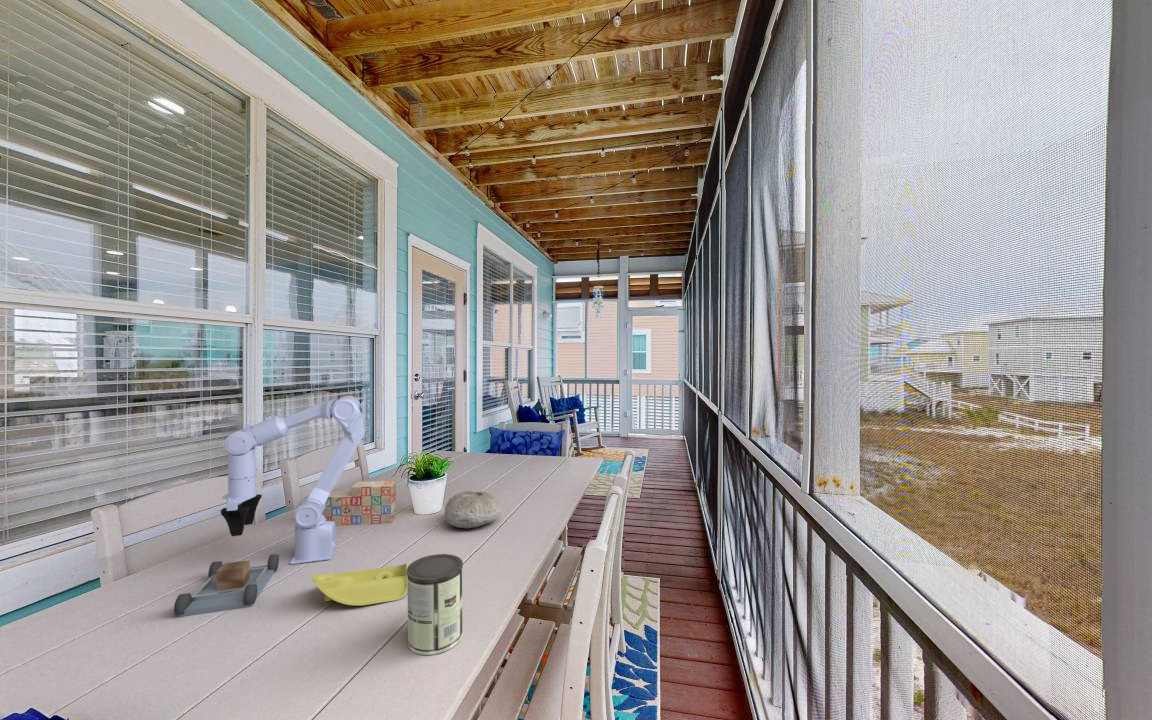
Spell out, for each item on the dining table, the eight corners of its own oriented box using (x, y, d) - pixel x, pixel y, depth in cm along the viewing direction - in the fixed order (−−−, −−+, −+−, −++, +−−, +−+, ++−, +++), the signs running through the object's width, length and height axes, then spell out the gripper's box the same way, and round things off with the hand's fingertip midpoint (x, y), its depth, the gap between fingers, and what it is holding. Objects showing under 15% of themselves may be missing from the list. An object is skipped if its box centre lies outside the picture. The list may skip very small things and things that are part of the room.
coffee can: (425, 619, 93) (425, 551, 93) (472, 626, 90) (472, 556, 90) (395, 651, 83) (394, 575, 83) (446, 660, 80) (445, 581, 80)
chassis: (278, 567, 115) (278, 551, 115) (250, 608, 97) (250, 589, 97) (215, 575, 111) (215, 559, 111) (174, 619, 92) (173, 600, 92)
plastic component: (404, 565, 112) (410, 562, 104) (403, 598, 109) (409, 598, 101) (312, 576, 103) (310, 574, 95) (308, 612, 100) (306, 614, 92)
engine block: (249, 579, 107) (249, 560, 107) (243, 587, 103) (243, 567, 103) (224, 582, 105) (224, 563, 105) (216, 590, 101) (216, 571, 101)
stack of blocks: (320, 526, 143) (320, 488, 142) (329, 519, 149) (328, 482, 149) (391, 523, 145) (390, 485, 145) (396, 516, 151) (396, 480, 151)
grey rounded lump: (475, 510, 157) (475, 482, 157) (513, 521, 147) (513, 491, 147) (432, 526, 143) (432, 495, 143) (470, 540, 132) (470, 506, 132)
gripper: (234, 471, 121) (234, 521, 121) (211, 486, 107) (211, 543, 107) (264, 469, 123) (265, 518, 123) (246, 483, 110) (246, 538, 110)
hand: (242, 529), depth 116 cm, fingers open, 7 cm apart
